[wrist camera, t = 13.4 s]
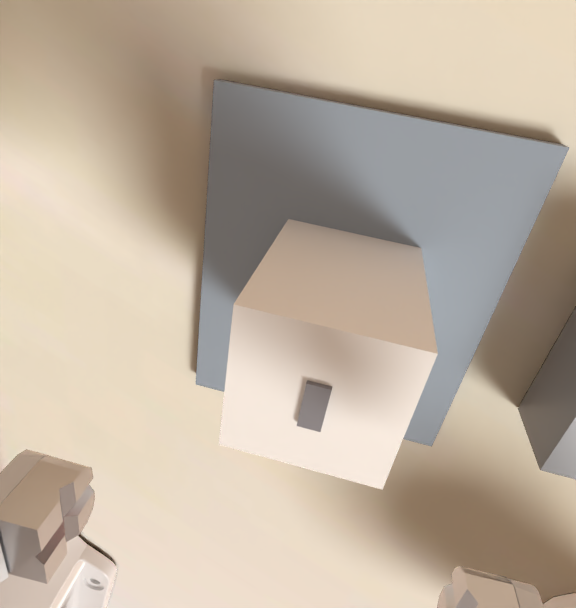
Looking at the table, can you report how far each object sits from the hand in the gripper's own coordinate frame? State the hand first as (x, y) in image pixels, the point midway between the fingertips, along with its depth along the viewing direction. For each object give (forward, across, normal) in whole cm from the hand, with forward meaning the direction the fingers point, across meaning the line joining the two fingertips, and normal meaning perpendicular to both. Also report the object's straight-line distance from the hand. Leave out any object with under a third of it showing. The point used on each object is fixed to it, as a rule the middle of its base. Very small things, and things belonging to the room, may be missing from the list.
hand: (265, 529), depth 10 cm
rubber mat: (+11, +1, +1) cm, 11 cm away
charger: (+10, +1, +1) cm, 11 cm away
